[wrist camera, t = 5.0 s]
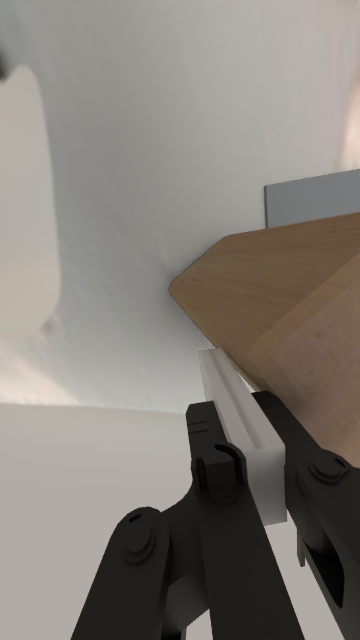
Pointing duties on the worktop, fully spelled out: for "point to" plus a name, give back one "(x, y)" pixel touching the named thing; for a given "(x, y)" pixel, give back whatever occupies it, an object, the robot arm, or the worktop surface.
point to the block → (288, 319)
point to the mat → (312, 198)
